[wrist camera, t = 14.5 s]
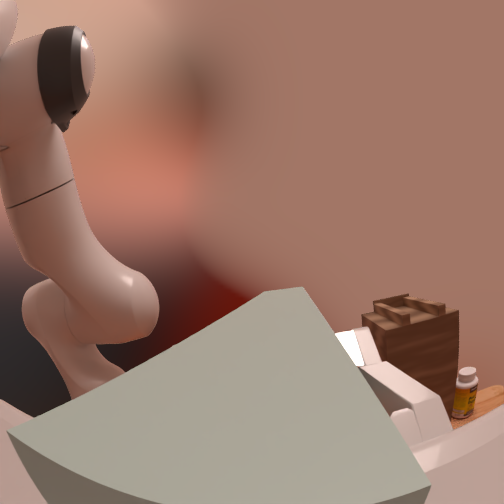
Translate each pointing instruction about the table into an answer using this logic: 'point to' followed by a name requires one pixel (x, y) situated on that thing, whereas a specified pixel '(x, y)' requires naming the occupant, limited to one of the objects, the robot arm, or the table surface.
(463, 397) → the supplement bottle
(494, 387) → the table surface
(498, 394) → the table surface
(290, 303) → the batten
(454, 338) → the stand
